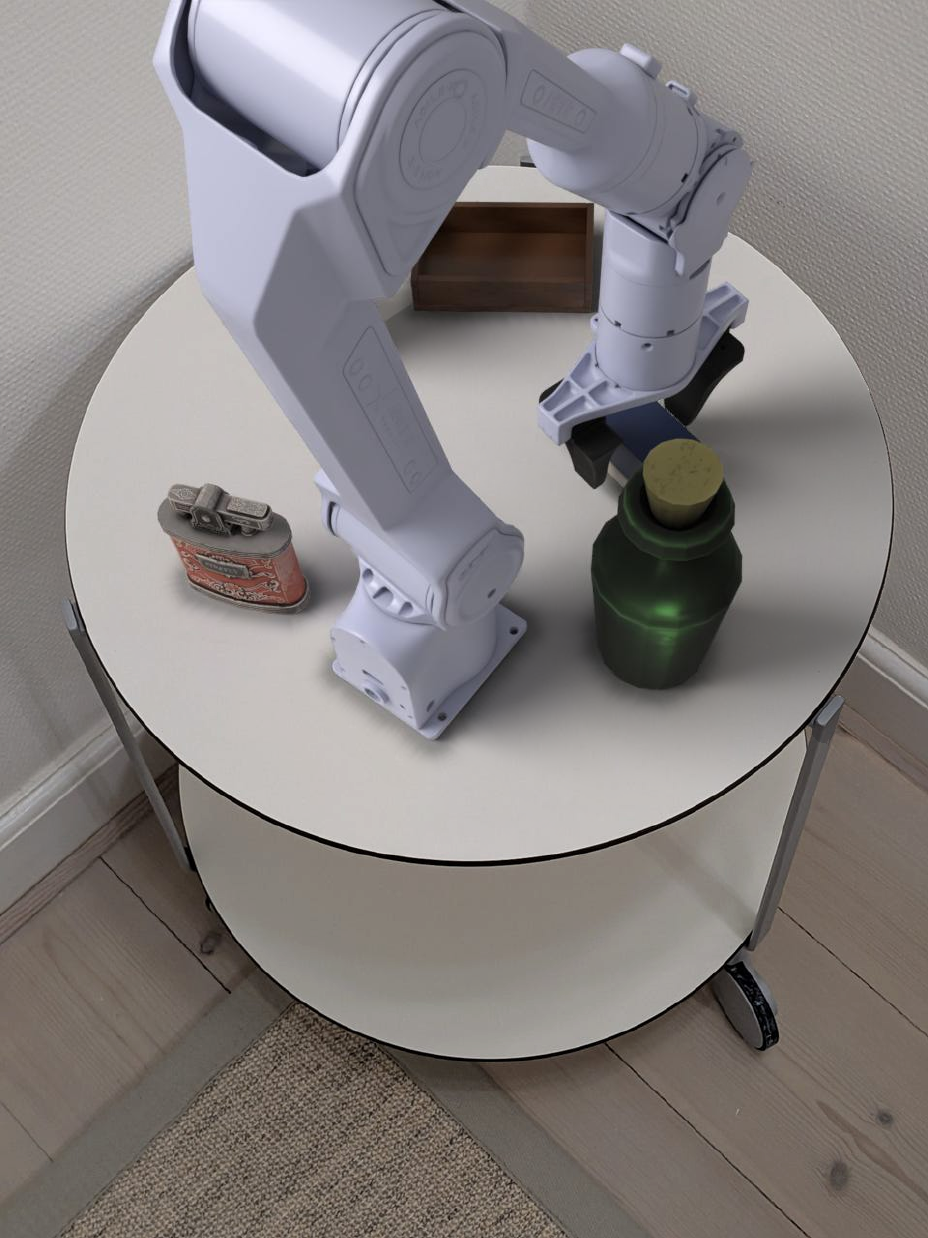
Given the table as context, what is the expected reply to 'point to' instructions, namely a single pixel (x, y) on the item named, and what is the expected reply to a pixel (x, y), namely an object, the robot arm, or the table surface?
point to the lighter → (234, 549)
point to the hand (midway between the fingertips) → (634, 445)
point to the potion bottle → (666, 567)
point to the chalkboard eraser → (641, 436)
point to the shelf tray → (508, 259)
